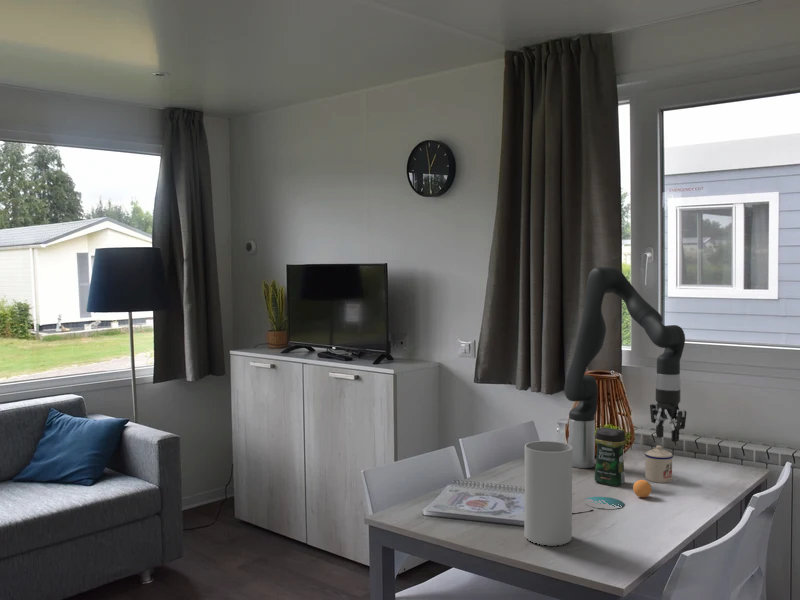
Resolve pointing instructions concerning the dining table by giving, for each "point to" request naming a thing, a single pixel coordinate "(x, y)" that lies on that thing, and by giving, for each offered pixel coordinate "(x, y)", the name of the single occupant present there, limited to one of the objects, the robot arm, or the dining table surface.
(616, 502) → the teal mark
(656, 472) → the teacup with lid
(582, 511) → the dining table surface
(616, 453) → the coffee jar
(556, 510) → the cylinder vase
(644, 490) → the ball
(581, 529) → the dining table surface
